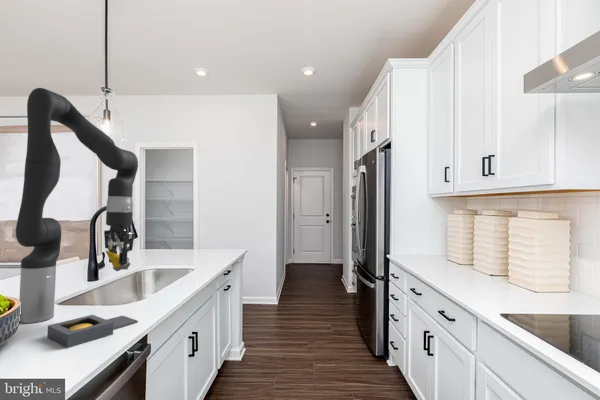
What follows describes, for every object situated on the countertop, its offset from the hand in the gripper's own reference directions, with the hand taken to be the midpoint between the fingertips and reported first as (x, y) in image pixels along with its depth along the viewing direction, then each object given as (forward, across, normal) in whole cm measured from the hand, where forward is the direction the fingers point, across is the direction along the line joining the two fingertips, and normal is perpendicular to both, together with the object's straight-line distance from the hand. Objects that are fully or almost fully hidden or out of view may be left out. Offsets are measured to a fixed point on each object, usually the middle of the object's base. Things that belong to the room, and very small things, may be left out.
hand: (117, 263), depth 107 cm
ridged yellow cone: (+3, 0, 0) cm, 3 cm away
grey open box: (+19, +2, -11) cm, 22 cm away
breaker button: (+19, +2, -11) cm, 22 cm away
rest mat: (+19, 0, 0) cm, 19 cm away
